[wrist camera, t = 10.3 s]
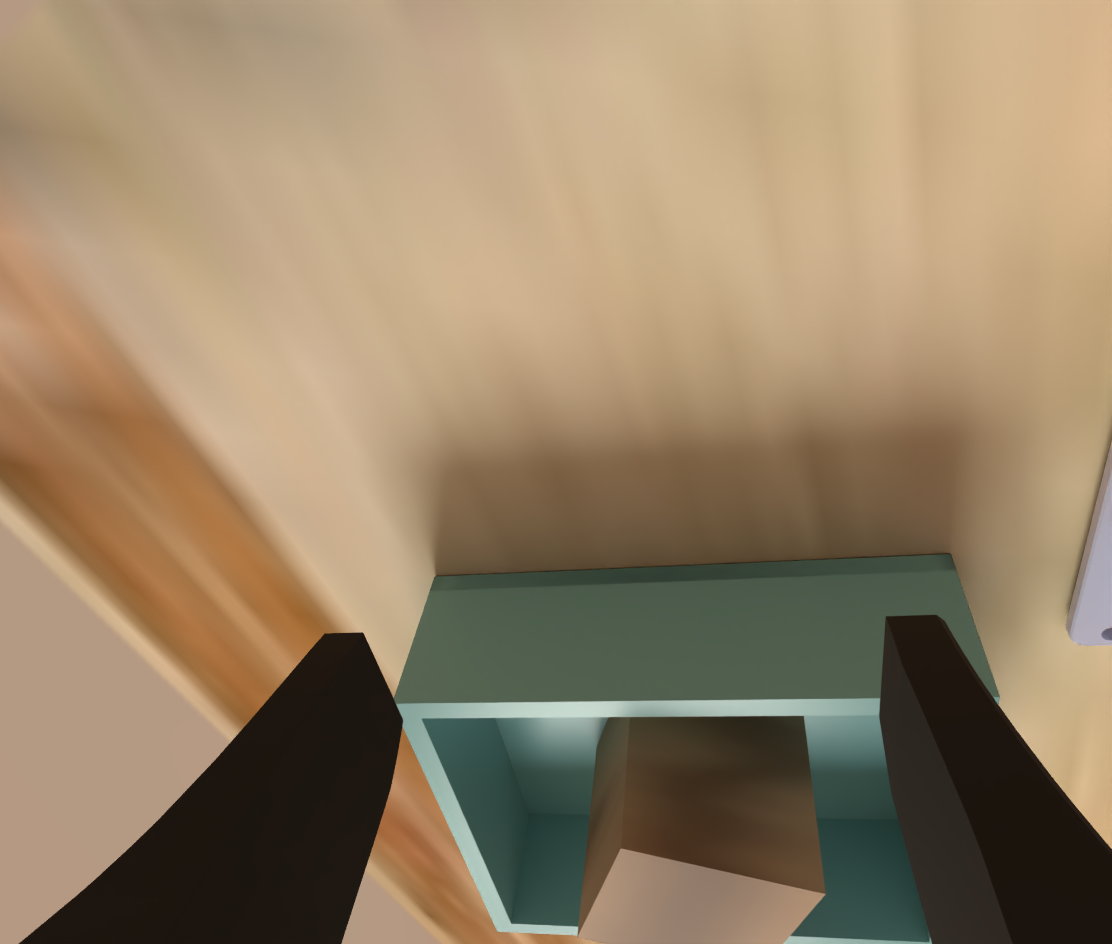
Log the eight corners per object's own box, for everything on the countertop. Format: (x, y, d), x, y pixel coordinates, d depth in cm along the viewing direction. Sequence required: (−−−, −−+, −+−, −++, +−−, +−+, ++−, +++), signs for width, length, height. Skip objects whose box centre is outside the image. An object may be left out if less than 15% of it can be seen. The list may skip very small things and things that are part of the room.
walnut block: (800, 689, 25) (825, 894, 20) (744, 780, 28) (754, 976, 23) (634, 651, 25) (620, 848, 20) (596, 747, 28) (577, 937, 23)
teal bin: (950, 554, 22) (999, 696, 18) (918, 813, 29) (949, 952, 25) (434, 576, 25) (391, 703, 21) (519, 807, 32) (497, 931, 28)
